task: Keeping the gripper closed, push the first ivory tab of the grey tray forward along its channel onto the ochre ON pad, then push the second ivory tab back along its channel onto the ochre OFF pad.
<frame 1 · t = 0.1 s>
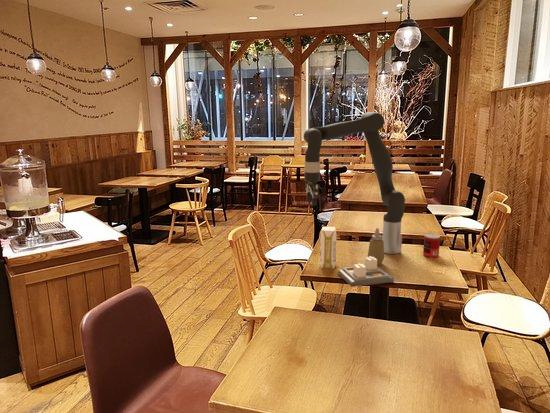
hand: (311, 203, 205), 29 cm above the table, fingers open, 8 cm apart
juice carton: (327, 266, 203), on the table
canned food: (430, 256, 217), on the table
squeeze bottle: (375, 263, 206), on the table
grey tray: (365, 277, 189), on the table
tab B: (359, 270, 183), point 5 cm above the table, slide at 9.0 cm
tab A: (371, 263, 192), point 5 cm above the table, slide at 0.0 cm
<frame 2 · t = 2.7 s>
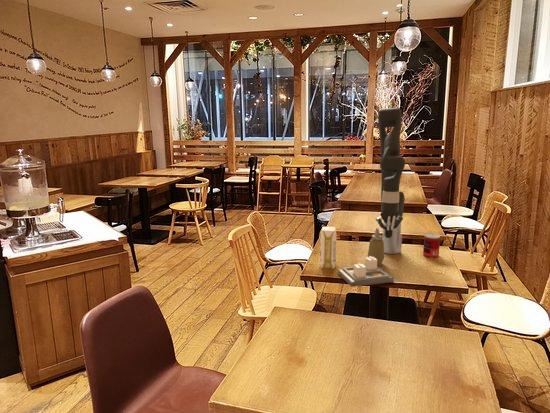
hand: (388, 237, 191), 17 cm above the table, fingers closed
nothing on the table moved.
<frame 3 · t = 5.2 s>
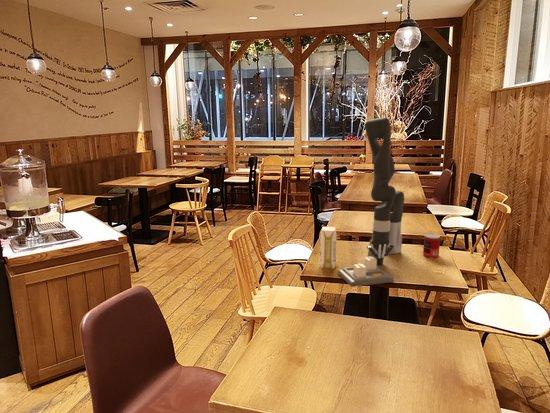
hand: (379, 264, 193), 4 cm above the table, fingers closed
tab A: (370, 263, 192), point 5 cm above the table, slide at 0.3 cm, touching gripper
everything else where it was.
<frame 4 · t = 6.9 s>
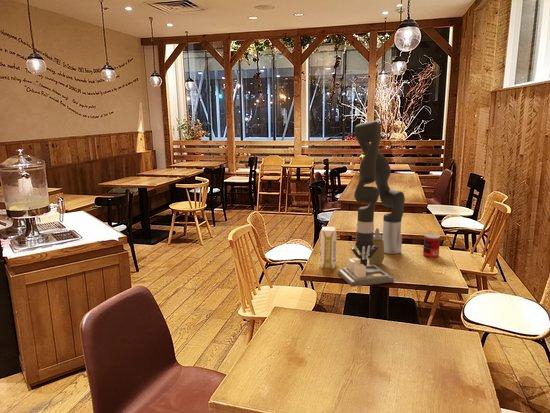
hand: (363, 266, 191), 4 cm above the table, fingers closed
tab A: (354, 264, 190), point 5 cm above the table, slide at 8.4 cm, touching gripper
everything else where it was.
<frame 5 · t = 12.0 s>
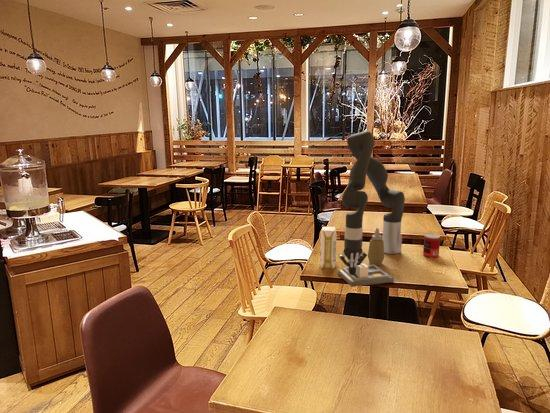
hand: (352, 274, 183), 4 cm above the table, fingers closed
tab B: (362, 270, 183), point 5 cm above the table, slide at 7.8 cm, touching gripper
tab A: (354, 264, 190), point 5 cm above the table, slide at 8.5 cm
everything else where it was.
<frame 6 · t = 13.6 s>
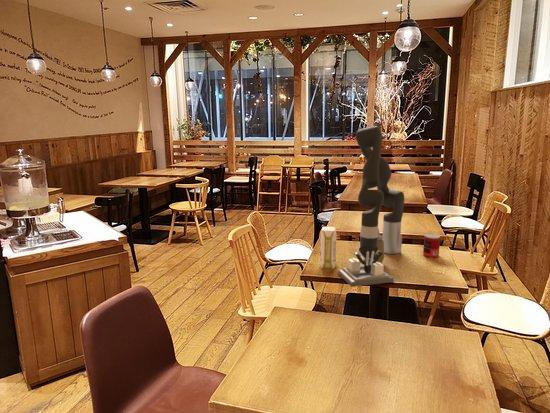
hand: (367, 272, 184), 4 cm above the table, fingers closed
tab B: (377, 268, 185), point 5 cm above the table, slide at 0.6 cm, touching gripper
everything else where it was.
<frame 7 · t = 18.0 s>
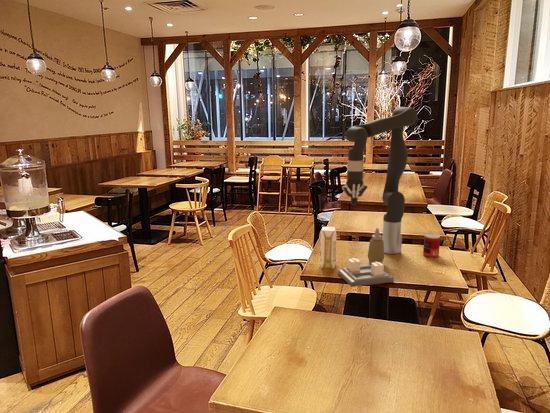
hand: (353, 204, 203), 29 cm above the table, fingers closed
tab B: (377, 268, 185), point 5 cm above the table, slide at 0.5 cm
everything else where it was.
at the end: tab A slide at 8.5 cm; tab B slide at 0.5 cm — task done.
